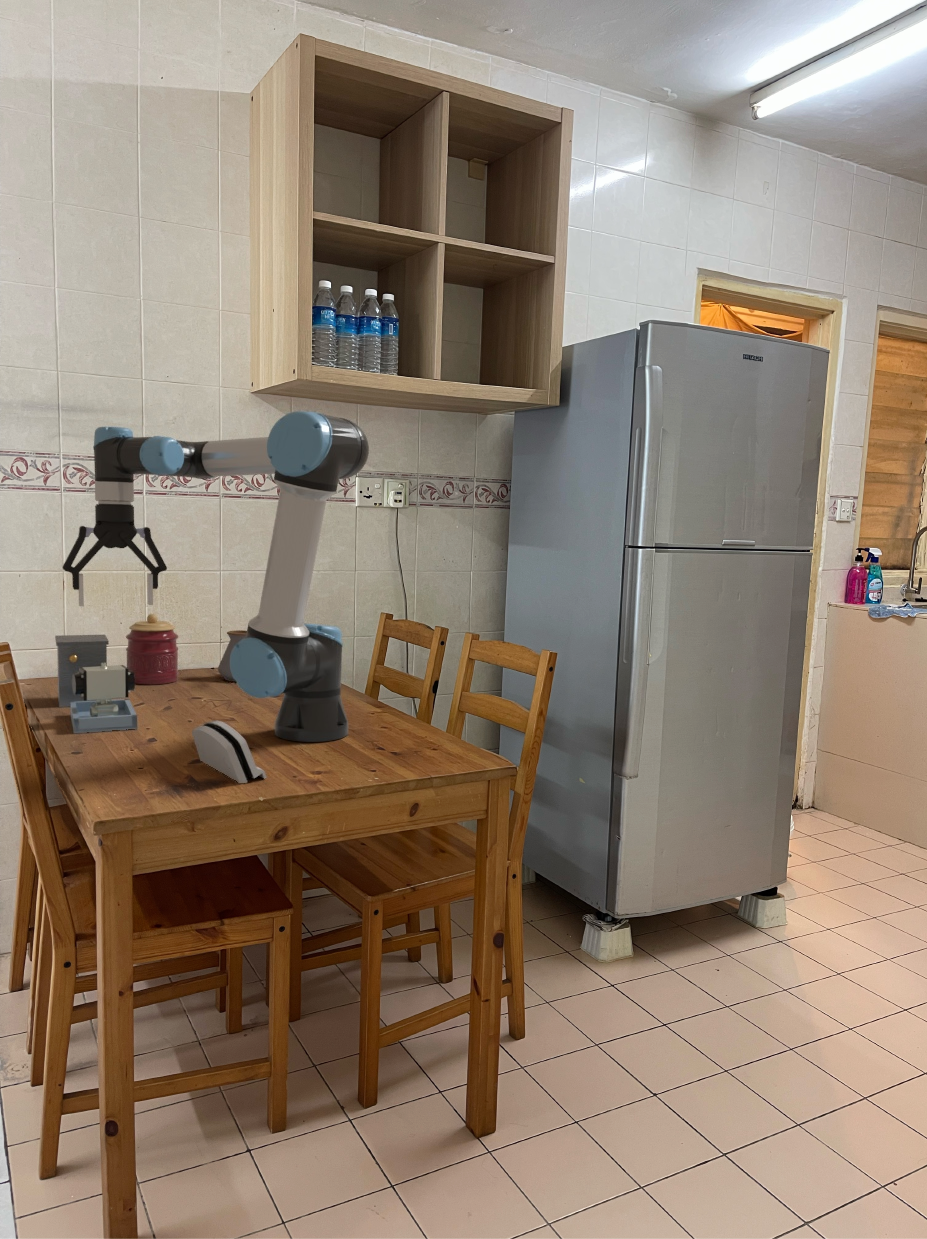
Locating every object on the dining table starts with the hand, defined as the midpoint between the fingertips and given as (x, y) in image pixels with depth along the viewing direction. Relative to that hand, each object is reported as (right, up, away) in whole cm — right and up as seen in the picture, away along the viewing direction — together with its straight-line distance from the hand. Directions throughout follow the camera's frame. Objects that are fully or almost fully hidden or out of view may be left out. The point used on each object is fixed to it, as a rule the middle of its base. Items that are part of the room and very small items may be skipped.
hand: (116, 605), depth 189 cm
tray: (-3, -25, +1) cm, 25 cm away
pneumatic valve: (-3, -24, +1) cm, 24 cm away
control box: (-16, -22, +20) cm, 33 cm away
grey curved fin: (+31, -30, -30) cm, 53 cm away
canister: (-9, -19, +47) cm, 52 cm away
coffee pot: (+15, -20, +49) cm, 55 cm away
